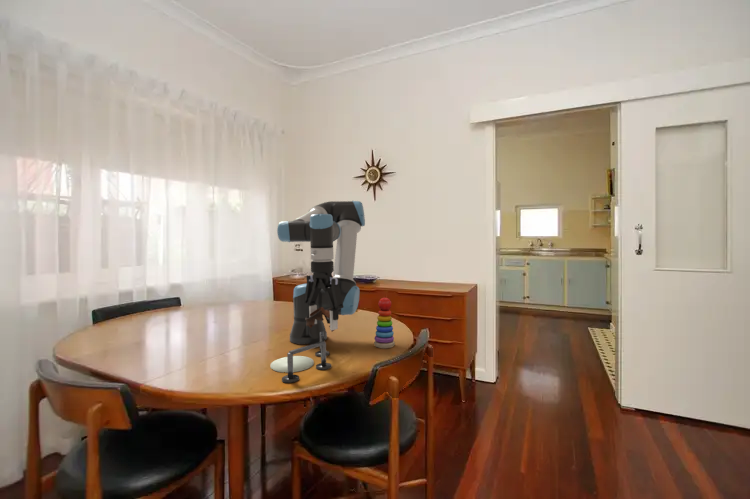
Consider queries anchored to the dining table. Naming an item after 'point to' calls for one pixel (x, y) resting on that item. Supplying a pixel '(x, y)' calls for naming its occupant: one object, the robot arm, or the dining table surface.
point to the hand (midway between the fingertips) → (323, 326)
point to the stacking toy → (384, 325)
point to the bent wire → (322, 353)
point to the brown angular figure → (318, 316)
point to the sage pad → (298, 364)
